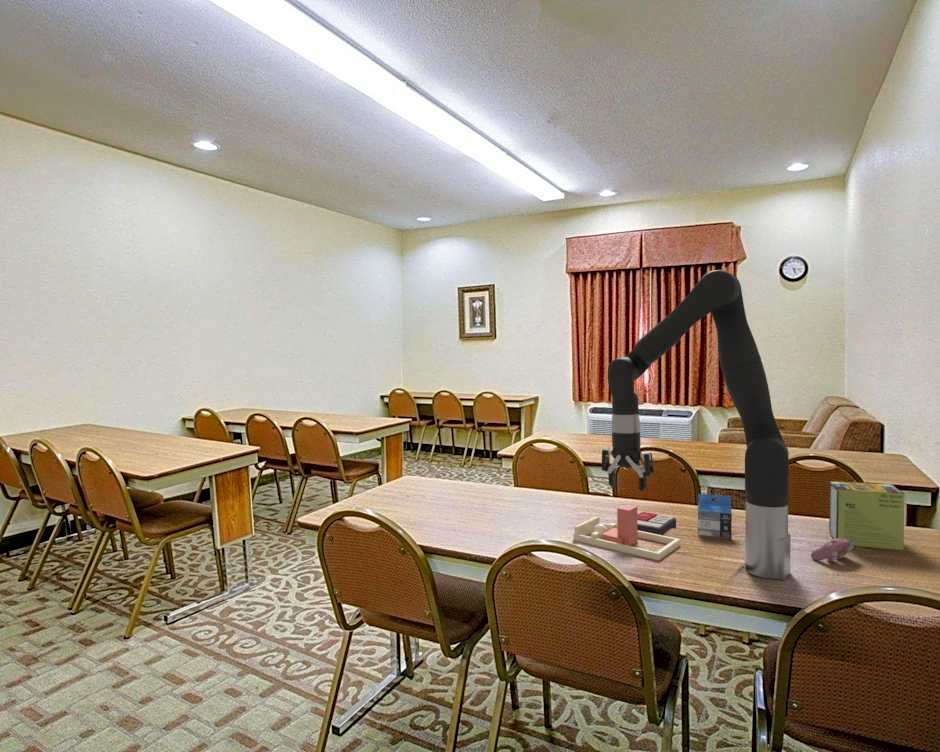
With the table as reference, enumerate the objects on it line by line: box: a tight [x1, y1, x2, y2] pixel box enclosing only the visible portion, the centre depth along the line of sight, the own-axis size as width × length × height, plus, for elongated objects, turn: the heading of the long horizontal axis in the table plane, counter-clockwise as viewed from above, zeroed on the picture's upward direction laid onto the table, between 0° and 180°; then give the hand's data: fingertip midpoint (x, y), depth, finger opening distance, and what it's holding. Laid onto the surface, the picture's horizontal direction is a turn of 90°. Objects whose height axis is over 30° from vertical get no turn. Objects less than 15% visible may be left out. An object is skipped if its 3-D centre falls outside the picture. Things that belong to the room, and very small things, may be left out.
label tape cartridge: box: [697, 493, 733, 541], centre depth 164 cm, size 9×4×12 cm, turn 68°
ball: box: [593, 524, 608, 539], centre depth 164 cm, size 4×4×4 cm
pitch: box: [572, 515, 681, 561], centre depth 159 cm, size 25×14×5 cm, turn 48°
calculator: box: [637, 511, 677, 536], centre depth 173 cm, size 11×4×15 cm
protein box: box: [828, 481, 906, 551], centre depth 159 cm, size 10×15×16 cm
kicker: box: [601, 503, 639, 547], centre depth 159 cm, size 8×7×10 cm
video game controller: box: [810, 538, 855, 563], centre depth 146 cm, size 10×5×7 cm, turn 114°
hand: (627, 488), depth 158 cm, fingers open, 8 cm apart
